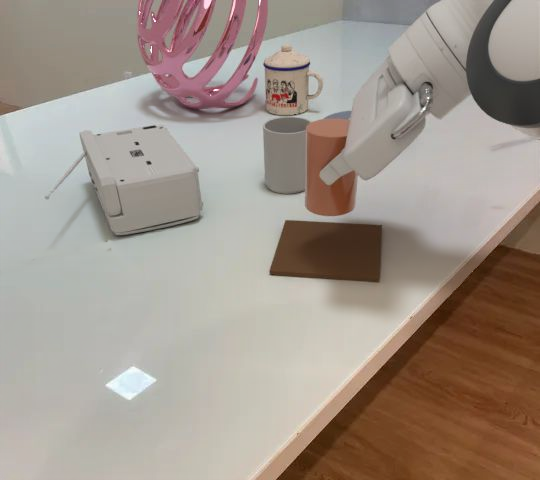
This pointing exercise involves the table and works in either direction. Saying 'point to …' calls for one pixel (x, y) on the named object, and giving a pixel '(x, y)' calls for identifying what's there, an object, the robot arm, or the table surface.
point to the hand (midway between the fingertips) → (326, 165)
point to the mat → (329, 251)
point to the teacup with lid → (288, 82)
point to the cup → (285, 154)
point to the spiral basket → (184, 48)
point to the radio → (140, 178)
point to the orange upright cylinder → (316, 156)
